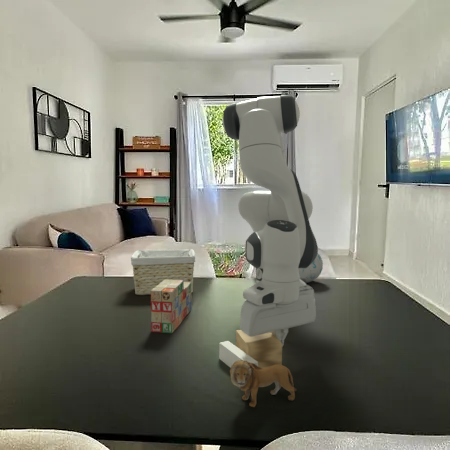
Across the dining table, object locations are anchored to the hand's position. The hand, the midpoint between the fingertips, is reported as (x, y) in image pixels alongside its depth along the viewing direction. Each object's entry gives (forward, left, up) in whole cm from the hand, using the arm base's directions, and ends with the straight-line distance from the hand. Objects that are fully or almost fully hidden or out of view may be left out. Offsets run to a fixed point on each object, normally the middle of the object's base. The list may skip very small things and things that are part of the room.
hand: (279, 346), depth 96 cm
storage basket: (+3, -70, -3) cm, 71 cm away
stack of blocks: (+13, -37, -4) cm, 39 cm away
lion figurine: (+14, +14, -3) cm, 20 cm away
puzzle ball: (-53, -54, -3) cm, 76 cm away
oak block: (+5, -1, -3) cm, 6 cm away
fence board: (+12, 0, -3) cm, 12 cm away
